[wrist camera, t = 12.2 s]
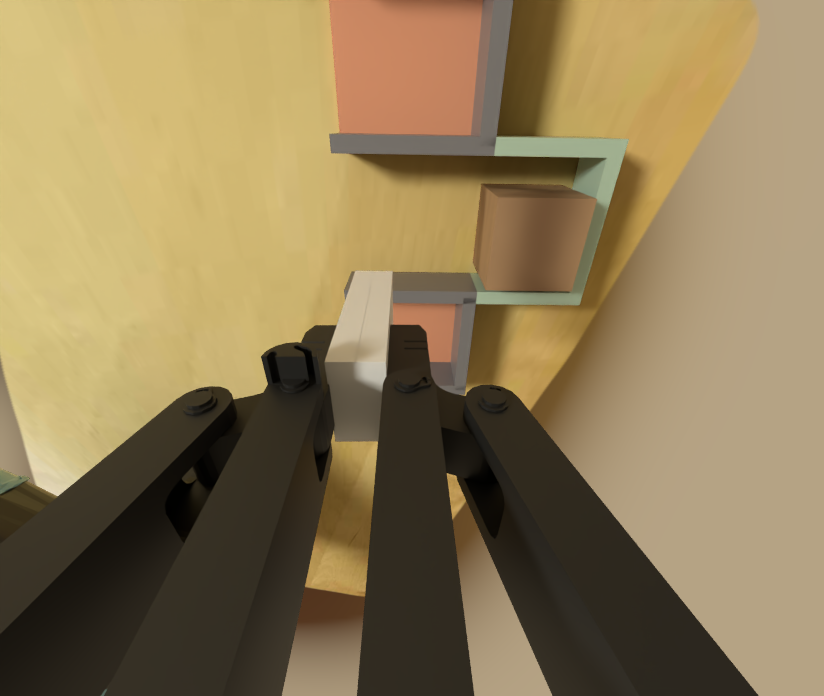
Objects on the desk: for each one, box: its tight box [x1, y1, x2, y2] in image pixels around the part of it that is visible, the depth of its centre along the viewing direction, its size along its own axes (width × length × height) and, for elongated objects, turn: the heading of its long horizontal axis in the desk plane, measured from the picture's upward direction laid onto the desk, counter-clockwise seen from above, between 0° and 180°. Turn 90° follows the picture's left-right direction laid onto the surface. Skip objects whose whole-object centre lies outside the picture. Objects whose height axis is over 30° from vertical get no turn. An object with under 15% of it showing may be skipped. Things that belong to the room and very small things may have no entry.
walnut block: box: [473, 184, 597, 291], centre depth 25 cm, size 6×6×6 cm
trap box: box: [329, 0, 629, 395], centre depth 26 cm, size 18×29×4 cm, turn 179°
